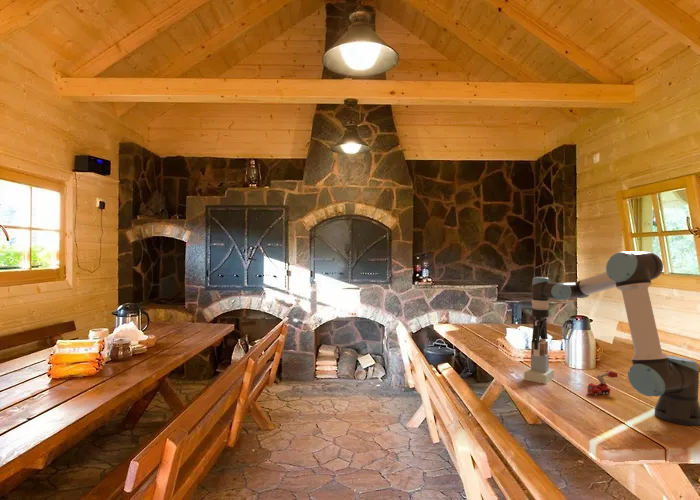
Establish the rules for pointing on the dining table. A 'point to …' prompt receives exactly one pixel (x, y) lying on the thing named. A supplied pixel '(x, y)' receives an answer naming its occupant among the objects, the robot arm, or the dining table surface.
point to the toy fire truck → (601, 384)
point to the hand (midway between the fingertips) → (539, 354)
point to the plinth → (539, 376)
